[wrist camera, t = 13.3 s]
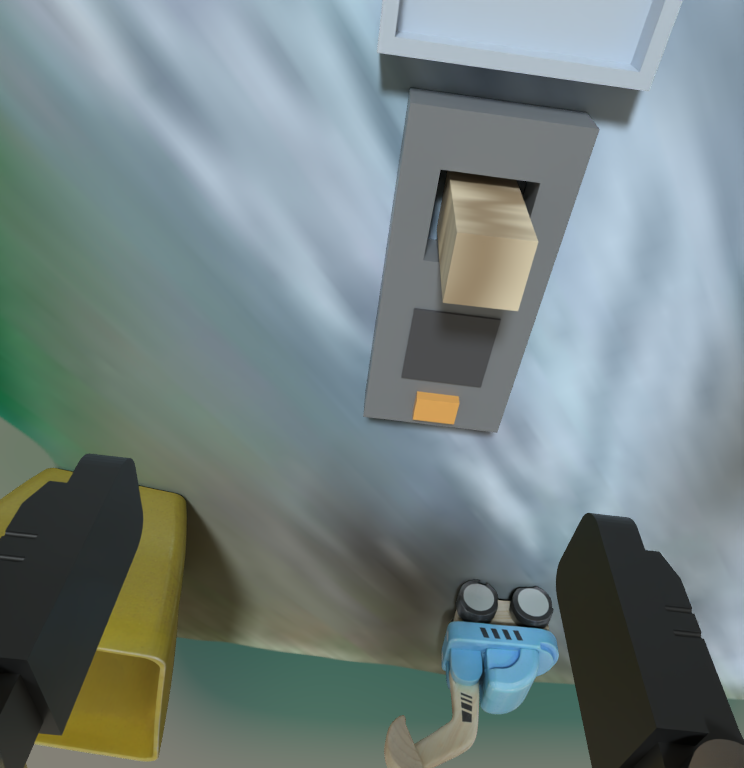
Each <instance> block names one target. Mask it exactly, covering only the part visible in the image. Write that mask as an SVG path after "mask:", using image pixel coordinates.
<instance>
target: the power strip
mask: <svg viewBox="0 0 744 768" xmlns="http://www.w3.org/2000/svg"><path fill="white" fill-rule="evenodd" d="M598 132H599V128H598V127H597V125H596V124H595V123H594V121H593V120H592V119H591V117H590V116H589V115H588V113H587V112H580V111H573V110H565V109H558V108H551V107H544V106H537V105H530V104H523V103H516V102H509V101H501V100H494V99H487V98H480V97H473V96H466V95H459V94H452V93H445V92H438V91H430V90H423V89H416V88H410V91H409V98H408V105H407V112H406V118H405V125H404V132H403V139H402V146H401V153H400V159H399V166H398V173H397V180H396V187H395V193H394V200H393V207H392V214H391V221H390V228H389V234H388V241H387V248H386V255H385V262H384V268H383V275H382V282H381V289H380V296H379V303H378V309H377V316H376V323H375V330H374V337H373V344H372V350H371V357H370V364H369V371H368V378H367V384H366V392H365V403H364V415H363V417H371V418H379V419H388V420H396V421H405V422H413V423H421V424H430V425H438V426H446V427H455V428H463V429H471V430H480V431H488V432H496V433H497V431H498V428H499V425H500V422H501V419H502V416H503V413H504V410H505V408H506V405H507V402H508V399H509V396H510V393H511V390H512V387H513V384H514V381H515V378H516V375H517V372H518V369H519V366H520V363H521V360H522V357H523V354H524V351H525V348H526V345H527V342H528V339H529V336H530V333H531V331H532V328H533V325H534V322H535V319H536V316H537V313H538V310H539V307H540V304H541V301H542V298H543V295H544V292H545V289H546V286H547V283H548V280H549V277H550V274H551V271H552V268H553V265H554V262H555V259H556V256H557V253H558V251H559V248H560V245H561V242H562V239H563V236H564V233H565V230H566V227H567V224H568V221H569V218H570V215H571V212H572V209H573V206H574V203H575V200H576V197H577V194H578V191H579V188H580V185H581V182H582V179H583V176H584V174H585V171H586V168H587V165H588V162H589V159H590V156H591V153H592V150H593V147H594V144H595V141H596V138H597V135H598ZM440 170H448V171H456V172H463V173H470V174H478V175H485V176H492V177H500V178H507V179H514V180H522V181H527V184H526V188H525V192H524V195H523V200H524V203H525V205H526V208H527V211H528V214H529V217H530V219H531V222H532V225H533V228H534V231H535V233H536V236H537V239H538V245H537V249H536V252H535V255H534V259H533V262H532V266H531V269H530V272H529V276H528V279H527V283H526V286H525V289H524V293H523V296H522V300H521V303H520V306H519V310H518V311H511V310H502V309H493V308H485V307H476V306H467V305H458V304H449V303H443V299H442V287H441V274H440V262H439V249H438V240H432V239H427V238H428V233H429V228H430V222H431V217H432V212H433V207H434V201H435V196H436V191H437V186H438V180H439V175H440Z"/></svg>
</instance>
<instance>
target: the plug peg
mask: <svg viewBox="0 0 744 768" xmlns="http://www.w3.org/2000/svg"><path fill="white" fill-rule="evenodd" d="M437 237H438V249H439V262H440V274H441V287H442V299H443V303H449V304H458V305H467V306H476V307H485V308H493V309H502V310H511V311H518V310H519V306H520V303H521V300H522V296H523V293H524V289H525V286H526V283H527V279H528V276H529V272H530V269H531V266H532V262H533V259H534V255H535V252H536V249H537V245H538V239H537V236H536V233H535V231H534V228H533V225H532V222H531V219H530V217H529V214H528V211H527V208H526V205H525V203H524V200H523V197H522V194H521V191H520V188H519V186H518V183H517V180H514V179H507V178H500V177H492V176H485V175H478V174H470V173H463V172H456V171H448V170H447V175H446V180H445V186H444V191H443V197H442V202H441V208H440V214H439V219H438V225H437Z"/></svg>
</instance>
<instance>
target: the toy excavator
mask: <svg viewBox="0 0 744 768" xmlns="http://www.w3.org/2000/svg"><path fill="white" fill-rule="evenodd" d="M479 581H480V580H472V581H468V582H466V583H465V584H463V585H462V586H461V588H460V590H459V593H458V597H457V602H456V607H457V609H456V613H455V617H454V619H453V620H452V622H451V623H449V625H448V627H447V631H446V635H445V639H444V643H443V646H442V669H443V670H444V671H446V679H447V680H446V681H447V685H448V688H449V689H450V691H451V699H452V713H453V716H452V720H451V721H450V722H449V723H447V724H445V725H444V726H442V727H441V728H439V729H438V730H437V731H435V732H433V733H432V734H430V735H429V736H427V737H425V738H424V739H422V740H420V741H419V742H417V743H416V744H414V742H413V740H412V738H411V736H410V733H409V731H408V728H407V726H406V723H405V721H406V719H405V716H404V715H402V716H399V717H398V718H396V719H395V720H394V721H393V722H392V724H391V725H390V727H389V729H388V732H387V737H386V741H385V748H384V754H385V761H386V764H387V767H388V768H434V767H436V766H438V765H440V764H442V763H444V762H446V761H448V760H450V759H452V758H454V757H456V756H458V755H460V754H462V753H463V752H465V751H466V750H468V749H469V748H470V747H471V746H472V745H473V743H474V741H475V739H476V734H477V728H478V715H479V694H480V705H481V708H482V709H483V710H484V711H485V712H487V713H490V714H505V713H509V712H511V711H513V710H514V709H516V708H517V707H518V706H519V705H520V704H521V703H522V702H523V701H524V699H525V697H526V695H527V693H528V692H529V689H530V688H531V685H532V683H533V681H534V679H535V677H537V676H540V675H542V674H544V673H546V672H547V671H548V670H550V669H551V667H552V666H554V665H555V663H556V662H557V660H558V657H559V653H558V647H557V641H556V638H555V636H554V635H553V634H552V633H551V632H549V627H548V623H549V621H550V618H551V616H552V613H553V608H552V601H551V598H550V597H549V595H548V594H547V593H546V592H545V591H544V590H542V589H540V588H539V587H537V586H535V587H533V588H518V589H517V590H516V591H515V592H514V594H513V597H512V600H511V601H501V600H498V594H497V592H496V591H495V589H494V588H492V587H491V586H490V585H489V584H488V583H486V586H485V585H482V584H479V583H477V582H479Z"/></svg>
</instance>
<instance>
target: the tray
mask: <svg viewBox="0 0 744 768" xmlns="http://www.w3.org/2000/svg"><path fill="white" fill-rule="evenodd" d="M682 2H683V0H383V2H382V11H381V20H380V29H379V37H378V46H377V53H383V54H390V55H397V56H404V57H411V58H418V59H425V60H432V61H439V62H446V63H453V64H460V65H467V66H474V67H481V68H488V69H495V70H502V71H509V72H516V73H523V74H530V75H537V76H544V77H552V78H559V79H566V80H573V81H580V82H587V83H594V84H601V85H608V86H615V87H622V88H629V89H636V90H643V91H649V90H650V88H651V85H652V82H653V79H654V77H655V74H656V71H657V69H658V66H659V63H660V61H661V58H662V55H663V53H664V50H665V47H666V45H667V42H668V39H669V36H670V34H671V31H672V28H673V26H674V23H675V20H676V18H677V15H678V12H679V10H680V7H681V4H682Z"/></svg>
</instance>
